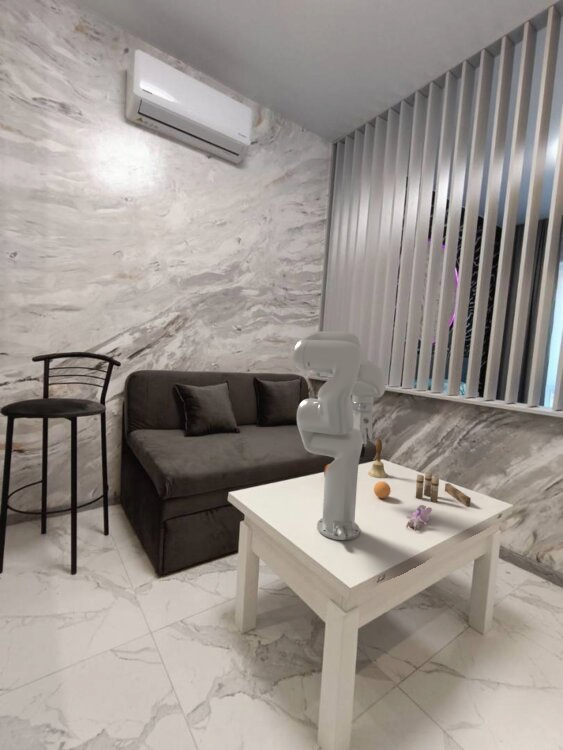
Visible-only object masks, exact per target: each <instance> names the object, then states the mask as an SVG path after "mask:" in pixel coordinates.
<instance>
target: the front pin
mask: <svg viewBox="0 0 563 750" xmlns="http://www.w3.org/2000/svg"><path fill="white" fill-rule="evenodd" d="M424 484H425V475H423V474H417V475H416V488H415V499H417V500H423V496H424Z"/></svg>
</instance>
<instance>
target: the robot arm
mask: <svg viewBox="0 0 563 750" xmlns="http://www.w3.org/2000/svg"><path fill="white" fill-rule="evenodd" d="M292 362H293V364H294V366H295V368H296V369H297V370H298V371H300V372H304V373H311V374H312V373H314V374H330V375H333V376H332V377H330V378H329V379H328V380H326V382H325V383H323V384H322V386H321V387H320V388H319V389H318V393H317V398H310V397H309V398H306V399H303V400H302V401H301V402H300V403H299V405H298V407H297V410H296V425H297V429H298V431H299V435H300V438H301V441H302V443H303V447H304V449H305V450H306V452H309V453H311V454H315V455H320V456H326V457H330V458H334V460H333V461H331V463H329V464H330V465H329V466H328V467H327V469H326V471H325V476H324V486H323V488H324V489H323V504H322V505H323V507H322V518H320V519H319V520H317V523H316V529H317V530H318V532H319V533H320V534H321V535H323V536H325V537H326V538H329V539H333V540H337V541H349V540H353V539H356V537H358V536H359V535H360V526H359V525H358V524H357V522H355V521H356V507H357V505H356V504H357V489H358V473H359V472H358V471H359V465H360V464H359V463H360V459H361V458H365V456H366V455H365V454H366V453H365V451H366V445H367V444H368V440H369V441H371V440H372V439H373V412H374V398H381V397H382V396H383V395H384V394H385V392H386V378H385V374H384V371H383V369H382V368H381V367H380V366H379V365H378V364H377V363H374V362H372V361H371V360H369V359H368V358H365V355H364V351H363V347H362V344H361V341H360V338H359V337H358V336H357V335H356V334H354V333H352V332H347V331H326V330H325V331H317V332H314V333H310V334H309V335H307V336H305V337H304V338H302V339H300V340H299V341H298V342H297V343H296V344H295V346H294V348H293V351H292ZM351 396H352V397H351Z"/></svg>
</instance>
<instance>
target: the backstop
mask: <svg viewBox="0 0 563 750" xmlns="http://www.w3.org/2000/svg"><path fill="white" fill-rule="evenodd" d="M444 486H445V487H444V492H446V493H447V494H448V495H450V496H451V497H453V498H454V499H455V500H456V501H458V502H460V503H461V504H462V505H463V506H465V507H471V499H472V498H471V497H470V496H468V495H467V494H466V493H464V492H462V491H461V490H459V489H458V488H456V487H455V486H453V485H452V484H451V483H445V485H444Z"/></svg>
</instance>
